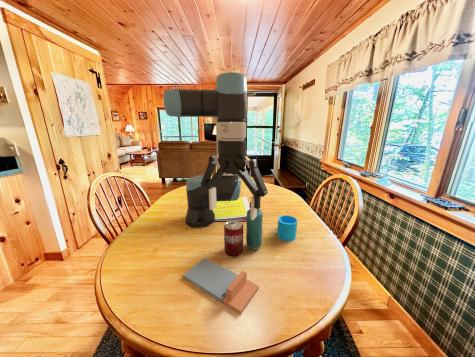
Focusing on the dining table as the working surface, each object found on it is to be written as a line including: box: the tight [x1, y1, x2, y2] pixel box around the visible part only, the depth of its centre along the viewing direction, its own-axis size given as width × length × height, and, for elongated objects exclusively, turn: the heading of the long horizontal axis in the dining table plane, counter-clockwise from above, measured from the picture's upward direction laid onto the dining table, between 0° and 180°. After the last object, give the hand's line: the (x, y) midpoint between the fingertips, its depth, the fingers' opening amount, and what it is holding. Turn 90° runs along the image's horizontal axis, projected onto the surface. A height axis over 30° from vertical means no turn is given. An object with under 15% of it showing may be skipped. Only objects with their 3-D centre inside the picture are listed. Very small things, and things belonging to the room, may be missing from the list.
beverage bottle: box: [245, 201, 264, 250], centre depth 76 cm, size 6×7×20 cm
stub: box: [222, 270, 260, 316], centre depth 56 cm, size 6×10×5 cm, turn 146°
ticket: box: [182, 257, 239, 303], centre depth 63 cm, size 16×10×2 cm, turn 56°
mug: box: [276, 214, 298, 242], centre depth 87 cm, size 12×8×8 cm
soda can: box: [223, 220, 244, 258], centre depth 74 cm, size 7×7×12 cm
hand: (232, 213), depth 57 cm, fingers open, 13 cm apart
